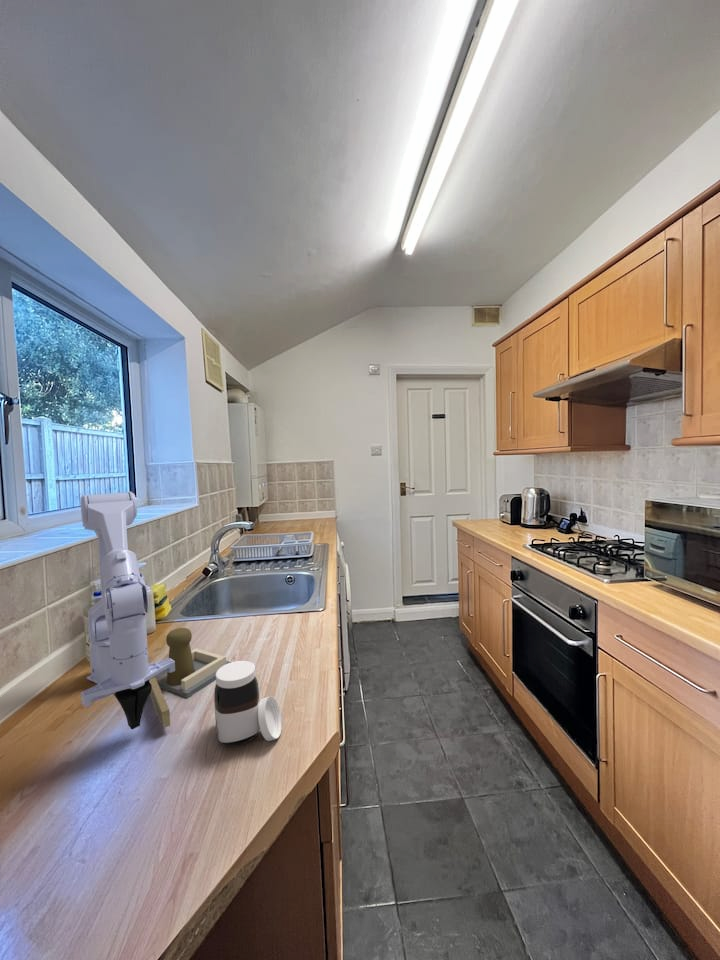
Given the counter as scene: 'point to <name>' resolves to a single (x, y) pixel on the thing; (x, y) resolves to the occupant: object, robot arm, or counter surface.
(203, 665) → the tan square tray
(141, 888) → the counter surface
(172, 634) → the brown rounded piece
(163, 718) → the bar
